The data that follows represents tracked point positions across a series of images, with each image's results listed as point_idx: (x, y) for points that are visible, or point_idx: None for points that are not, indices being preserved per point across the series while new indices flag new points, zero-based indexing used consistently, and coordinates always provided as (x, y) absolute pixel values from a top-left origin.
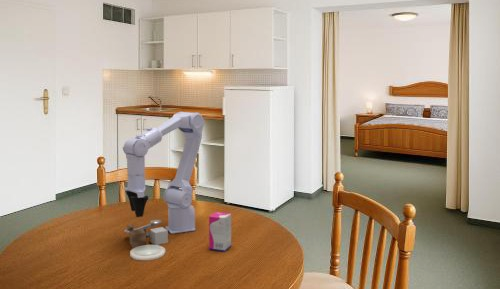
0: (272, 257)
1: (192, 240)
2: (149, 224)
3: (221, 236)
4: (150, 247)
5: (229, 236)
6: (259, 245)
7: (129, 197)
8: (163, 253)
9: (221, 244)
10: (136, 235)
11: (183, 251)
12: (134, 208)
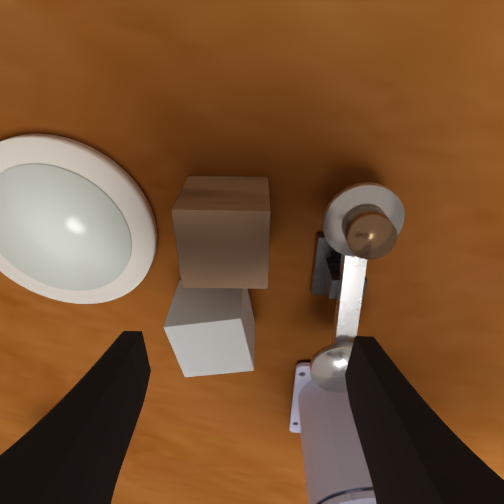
0: None
1: (188, 395)
2: (347, 334)
3: None
4: (98, 255)
5: None
6: None
7: (434, 497)
8: (26, 284)
9: None
10: (177, 232)
11: (74, 347)
12: (92, 401)
